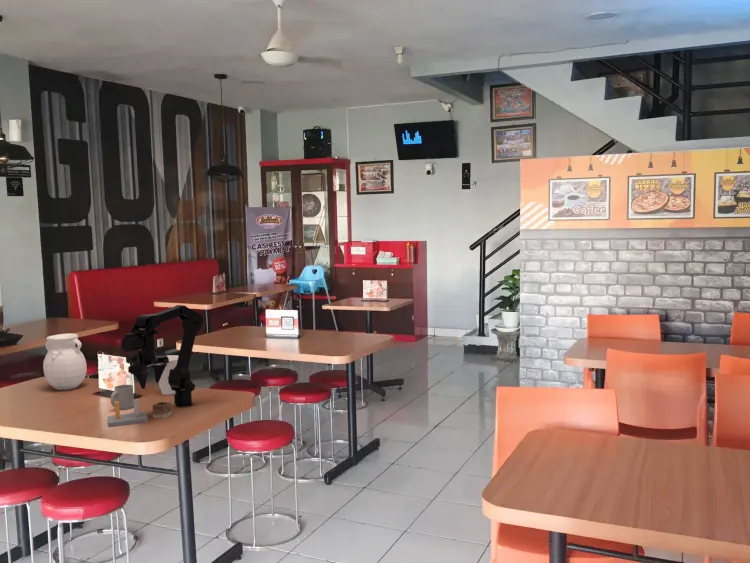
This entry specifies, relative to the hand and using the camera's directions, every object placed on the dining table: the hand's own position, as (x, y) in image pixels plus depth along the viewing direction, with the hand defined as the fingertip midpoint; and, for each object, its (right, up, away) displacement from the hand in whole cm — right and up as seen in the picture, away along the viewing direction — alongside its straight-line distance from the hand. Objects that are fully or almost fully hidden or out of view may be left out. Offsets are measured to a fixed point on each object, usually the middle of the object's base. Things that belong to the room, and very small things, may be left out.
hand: (150, 385), depth 260 cm
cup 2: (-4, -9, +37) cm, 38 cm away
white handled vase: (-57, -9, +50) cm, 77 cm away
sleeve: (+5, -12, 0) cm, 13 cm away
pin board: (-7, -13, -5) cm, 16 cm away
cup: (-16, -12, +13) cm, 24 cm away
